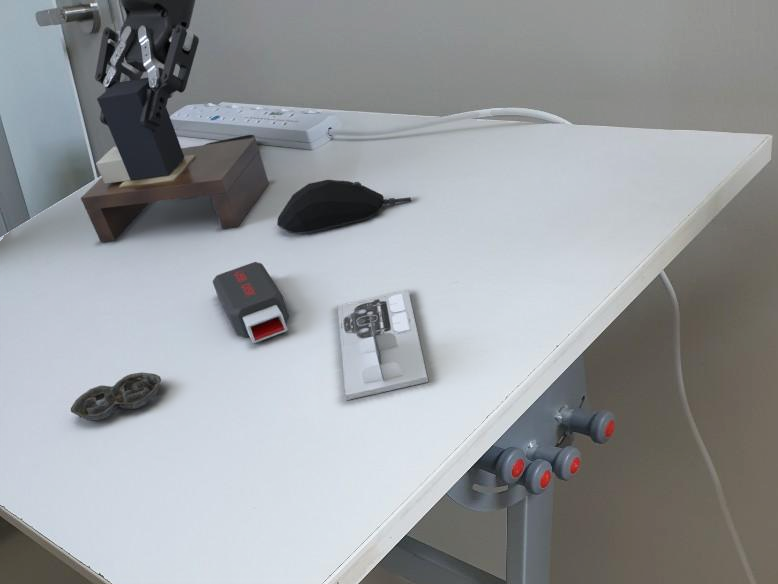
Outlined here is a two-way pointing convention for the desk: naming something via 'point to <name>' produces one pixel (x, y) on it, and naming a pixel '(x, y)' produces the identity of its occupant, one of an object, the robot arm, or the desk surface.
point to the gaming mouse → (330, 206)
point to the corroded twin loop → (117, 396)
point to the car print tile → (380, 345)
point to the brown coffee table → (184, 187)
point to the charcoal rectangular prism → (135, 136)
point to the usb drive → (252, 302)
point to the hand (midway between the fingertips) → (128, 126)
